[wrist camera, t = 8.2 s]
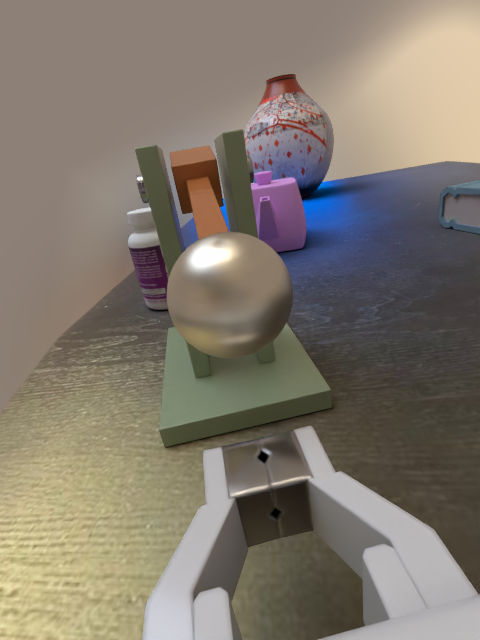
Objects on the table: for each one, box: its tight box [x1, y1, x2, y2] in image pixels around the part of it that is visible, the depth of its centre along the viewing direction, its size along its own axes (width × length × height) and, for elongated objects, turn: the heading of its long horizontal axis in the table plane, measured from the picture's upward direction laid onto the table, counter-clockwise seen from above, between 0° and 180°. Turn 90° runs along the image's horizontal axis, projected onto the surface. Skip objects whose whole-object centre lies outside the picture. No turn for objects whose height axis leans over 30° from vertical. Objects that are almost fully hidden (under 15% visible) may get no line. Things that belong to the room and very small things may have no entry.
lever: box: [167, 146, 293, 358], centre depth 14 cm, size 14×4×4 cm, turn 9°
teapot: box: [251, 171, 306, 252], centre depth 50 cm, size 18×10×10 cm, turn 174°
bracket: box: [135, 129, 332, 447], centre depth 21 cm, size 12×9×14 cm
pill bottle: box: [127, 207, 169, 310], centre depth 35 cm, size 5×5×10 cm
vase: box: [244, 74, 334, 198], centre depth 90 cm, size 23×23×28 cm
